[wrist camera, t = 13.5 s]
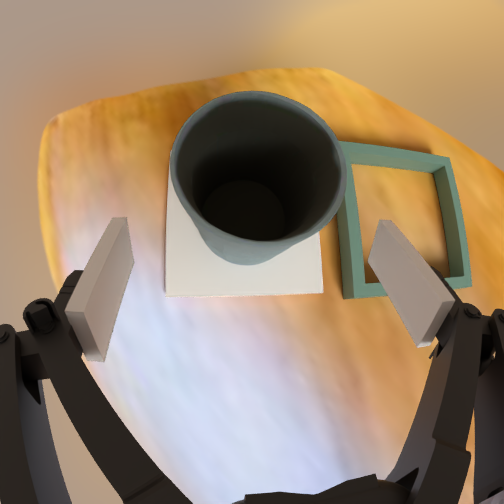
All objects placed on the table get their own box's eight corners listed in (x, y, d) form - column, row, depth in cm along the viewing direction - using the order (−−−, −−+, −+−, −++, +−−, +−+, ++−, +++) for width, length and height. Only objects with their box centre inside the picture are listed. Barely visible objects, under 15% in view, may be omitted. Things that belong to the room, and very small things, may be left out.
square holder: (438, 165, 34) (449, 157, 31) (458, 288, 31) (472, 286, 29) (328, 152, 32) (336, 140, 30) (343, 299, 29) (354, 297, 27)
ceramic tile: (308, 156, 32) (310, 152, 31) (320, 293, 29) (323, 292, 28) (171, 154, 30) (170, 150, 29) (167, 297, 28) (165, 296, 27)
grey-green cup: (314, 251, 29) (375, 211, 17) (210, 293, 27) (207, 277, 16) (271, 156, 30) (300, 76, 19) (172, 189, 29) (149, 115, 17)
